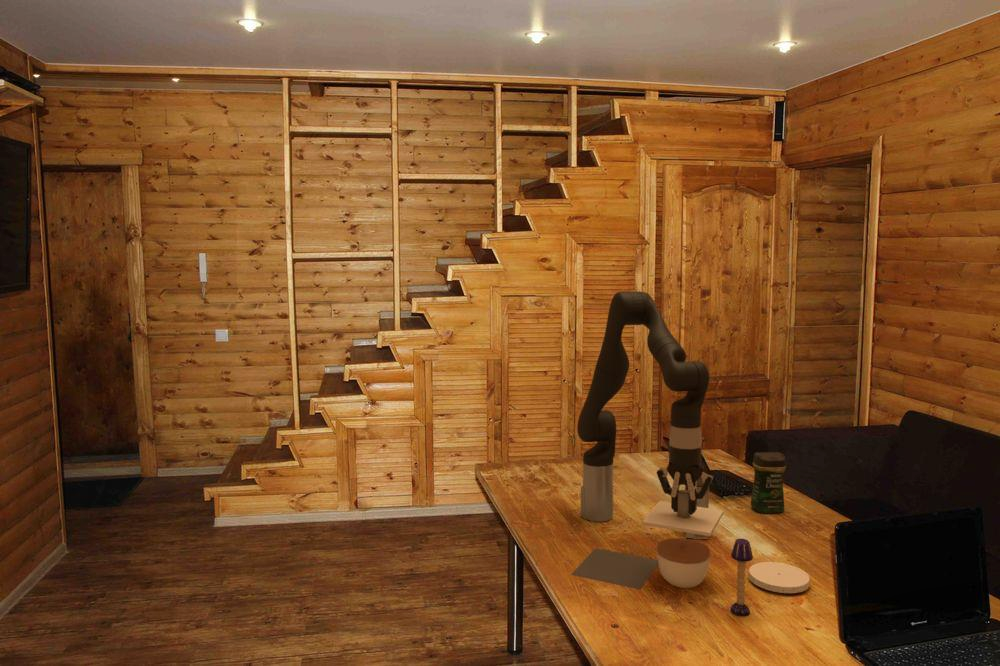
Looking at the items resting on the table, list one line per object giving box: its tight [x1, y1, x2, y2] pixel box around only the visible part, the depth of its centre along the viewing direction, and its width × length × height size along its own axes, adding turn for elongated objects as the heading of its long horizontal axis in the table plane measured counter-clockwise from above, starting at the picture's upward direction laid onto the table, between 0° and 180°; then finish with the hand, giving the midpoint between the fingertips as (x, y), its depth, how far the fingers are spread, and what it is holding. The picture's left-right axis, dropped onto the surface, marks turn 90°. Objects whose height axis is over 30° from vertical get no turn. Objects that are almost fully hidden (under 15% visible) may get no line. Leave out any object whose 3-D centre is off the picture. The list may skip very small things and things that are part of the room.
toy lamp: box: [730, 538, 754, 617], centre depth 162 cm, size 5×5×17 cm
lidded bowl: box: [656, 537, 711, 589], centre depth 176 cm, size 13×13×11 cm
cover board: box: [641, 489, 724, 537], centre depth 174 cm, size 16×16×7 cm
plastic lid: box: [748, 561, 811, 594], centre depth 176 cm, size 14×14×2 cm
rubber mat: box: [570, 547, 659, 590], centre depth 184 cm, size 18×18×1 cm
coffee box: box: [684, 476, 710, 540], centre depth 206 cm, size 9×6×16 cm
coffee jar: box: [750, 451, 787, 514], centre depth 224 cm, size 10×8×19 cm
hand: (683, 512), depth 175 cm, fingers closed on cover board, 3 cm apart
